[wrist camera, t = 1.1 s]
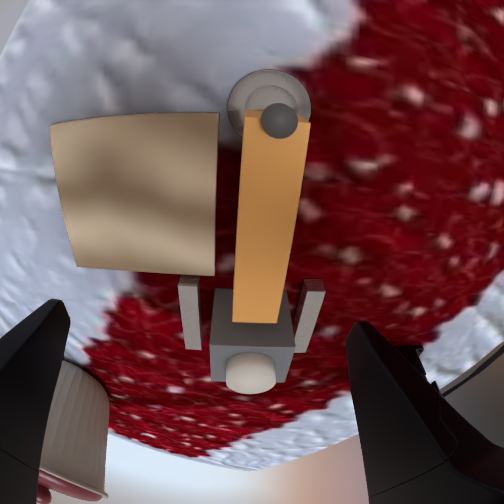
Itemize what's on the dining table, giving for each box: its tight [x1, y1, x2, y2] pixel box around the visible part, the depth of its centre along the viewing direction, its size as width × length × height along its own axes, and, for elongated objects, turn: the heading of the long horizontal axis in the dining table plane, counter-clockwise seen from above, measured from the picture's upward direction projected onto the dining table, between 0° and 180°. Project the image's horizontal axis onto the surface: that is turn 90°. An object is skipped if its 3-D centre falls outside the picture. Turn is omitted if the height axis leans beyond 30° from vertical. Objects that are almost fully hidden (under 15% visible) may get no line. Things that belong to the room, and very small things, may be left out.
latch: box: [232, 103, 311, 323], centre depth 17 cm, size 14×3×4 cm, turn 176°
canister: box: [36, 360, 109, 504], centre depth 25 cm, size 18×18×21 cm
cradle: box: [178, 70, 326, 353], centre depth 21 cm, size 24×12×2 cm, turn 176°
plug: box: [210, 288, 296, 394], centre depth 23 cm, size 5×6×8 cm
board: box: [49, 112, 220, 276], centre depth 19 cm, size 12×12×1 cm
